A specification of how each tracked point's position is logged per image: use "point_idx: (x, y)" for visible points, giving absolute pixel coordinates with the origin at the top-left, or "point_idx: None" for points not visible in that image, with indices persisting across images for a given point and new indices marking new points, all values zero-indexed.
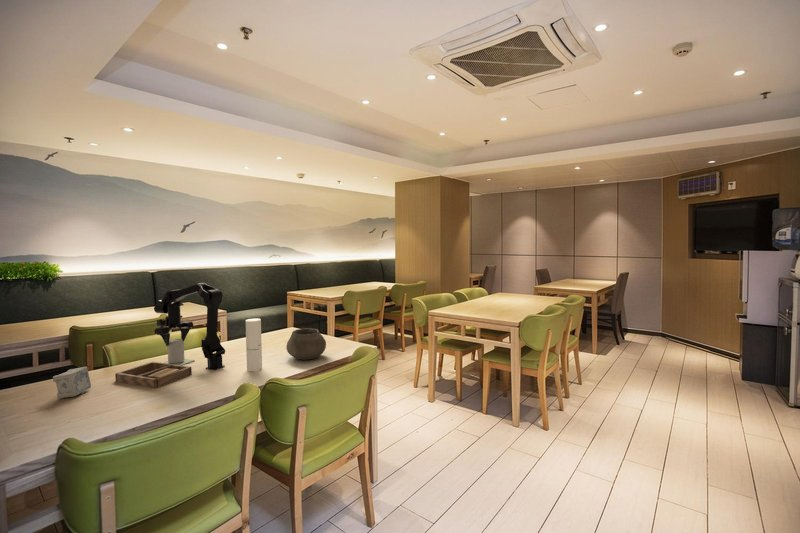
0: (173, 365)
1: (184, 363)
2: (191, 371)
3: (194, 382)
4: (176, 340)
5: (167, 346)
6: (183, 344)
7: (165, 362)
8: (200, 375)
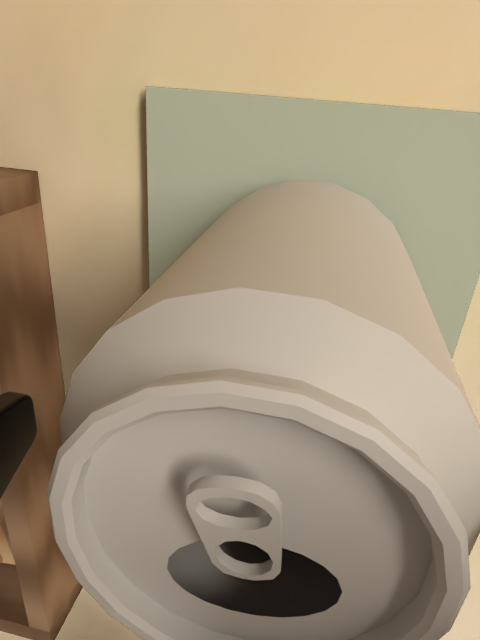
0: (4, 513)
1: None
2: (72, 604)
3: (10, 635)
4: (272, 556)
5: (135, 302)
6: (332, 577)
7: (260, 124)
8: (106, 623)
